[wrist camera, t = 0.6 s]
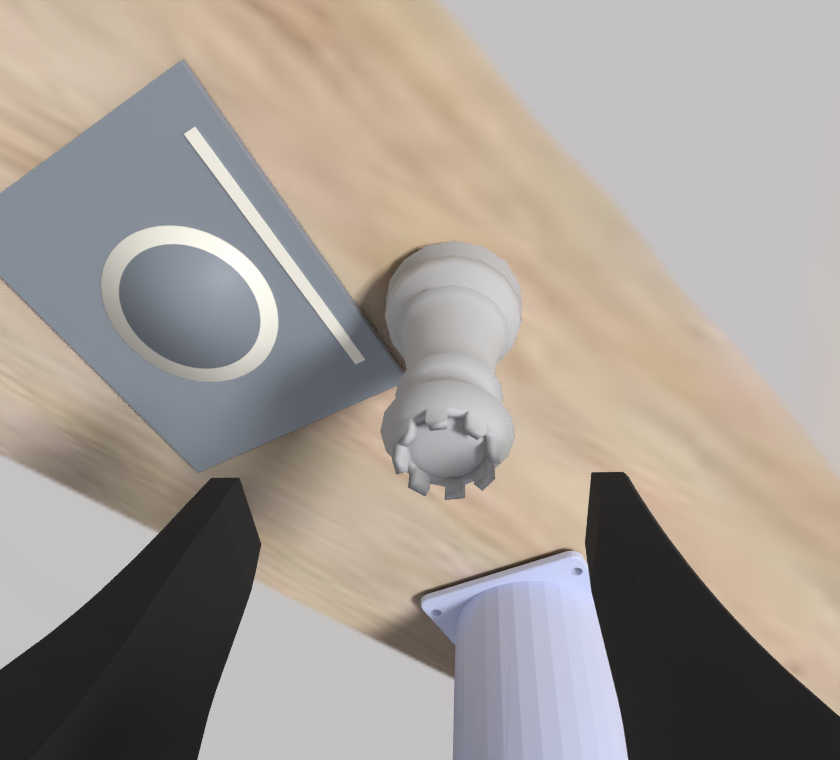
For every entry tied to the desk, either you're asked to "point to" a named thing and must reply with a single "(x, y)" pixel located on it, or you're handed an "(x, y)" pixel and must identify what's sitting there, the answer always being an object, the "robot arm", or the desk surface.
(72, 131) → the desk surface
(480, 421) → the rook chess piece
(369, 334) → the grey base plate
